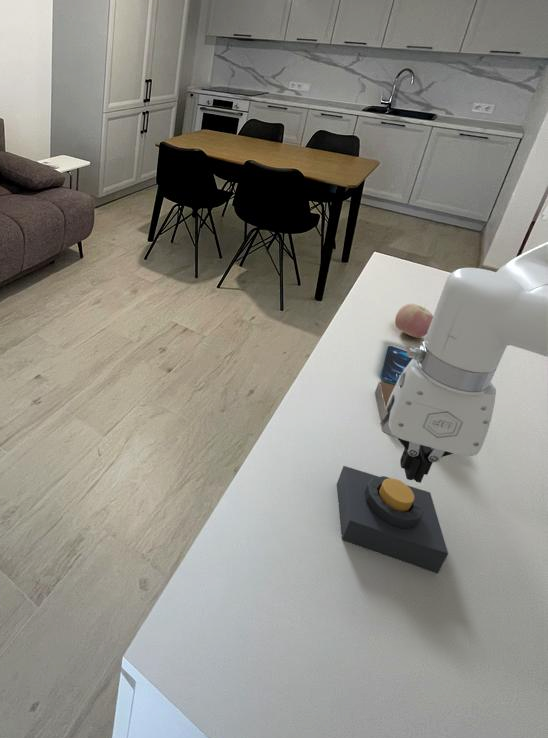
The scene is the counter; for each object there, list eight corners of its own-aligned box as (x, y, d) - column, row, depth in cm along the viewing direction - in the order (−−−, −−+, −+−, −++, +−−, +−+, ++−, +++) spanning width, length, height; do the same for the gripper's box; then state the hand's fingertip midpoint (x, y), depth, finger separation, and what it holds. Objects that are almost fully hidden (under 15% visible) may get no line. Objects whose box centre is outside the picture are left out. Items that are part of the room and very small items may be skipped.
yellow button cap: (407, 492, 72) (411, 483, 71) (413, 515, 68) (417, 507, 68) (377, 482, 73) (380, 474, 72) (381, 505, 69) (384, 496, 69)
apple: (426, 349, 115) (438, 320, 112) (390, 337, 119) (400, 308, 115) (426, 333, 121) (437, 305, 118) (391, 322, 125) (401, 294, 122)
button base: (421, 511, 75) (434, 483, 73) (437, 574, 67) (453, 544, 64) (336, 484, 79) (346, 456, 77) (341, 540, 70) (353, 511, 68)
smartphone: (426, 357, 111) (422, 393, 99) (425, 359, 111) (421, 396, 100) (388, 344, 115) (379, 377, 103) (387, 346, 115) (379, 379, 103)
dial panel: (442, 410, 96) (447, 398, 95) (457, 448, 88) (463, 435, 86) (374, 392, 100) (379, 380, 99) (382, 427, 91) (387, 414, 90)
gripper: (392, 368, 60) (354, 477, 67) (540, 402, 56) (483, 515, 63) (382, 334, 67) (349, 437, 74) (514, 362, 62) (465, 469, 69)
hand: (411, 472), depth 68 cm, fingers closed
